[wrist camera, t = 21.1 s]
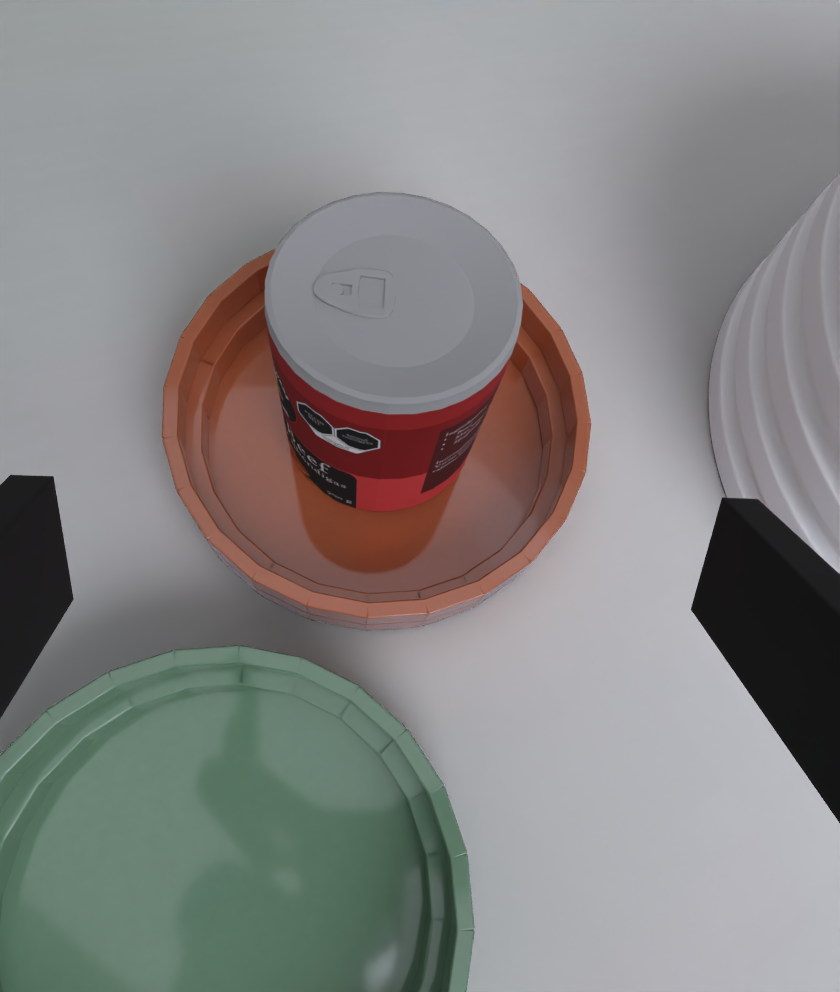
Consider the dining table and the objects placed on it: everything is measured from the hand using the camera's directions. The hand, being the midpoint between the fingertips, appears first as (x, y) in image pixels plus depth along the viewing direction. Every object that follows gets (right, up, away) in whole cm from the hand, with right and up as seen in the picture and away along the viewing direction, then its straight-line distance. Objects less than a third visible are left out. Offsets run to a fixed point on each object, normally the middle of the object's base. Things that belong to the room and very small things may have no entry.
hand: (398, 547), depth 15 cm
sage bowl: (-7, -14, +12) cm, 19 cm away
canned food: (-1, +4, +18) cm, 18 cm away
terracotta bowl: (-1, +4, +18) cm, 19 cm away
